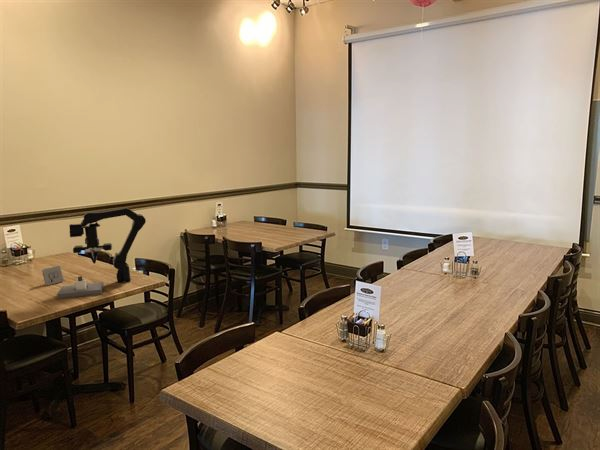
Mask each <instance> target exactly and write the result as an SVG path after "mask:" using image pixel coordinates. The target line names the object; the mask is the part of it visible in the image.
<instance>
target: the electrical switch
mask: <svg viewBox="0 0 600 450" xmlns="http://www.w3.org/2000/svg"><path fill="white" fill-rule="evenodd" d="M41 271H42V277H43V280H44V284H45V286H50V285H55V284H59V283H63V282H64V281H65V280H64V276H63V271H62V268H61V266H60V265H55V266H50V267H47V268H42V270H41Z"/></svg>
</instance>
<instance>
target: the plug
mask: <svg viewBox="0 0 600 450" xmlns="http://www.w3.org/2000/svg"><path fill="white" fill-rule="evenodd" d="M86 284H87V279H86V278H83V276H82V275H81V276H80V275H79V276H77V279H76V280H75V281H74V285H75V287H76V290H82V289H87V287H86Z"/></svg>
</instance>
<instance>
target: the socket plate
mask: <svg viewBox="0 0 600 450" xmlns="http://www.w3.org/2000/svg"><path fill="white" fill-rule="evenodd" d="M104 286H105V285H104V282H103V281H102V282H93V283H91V282H90V283H86V287H87V289H82V290H76V287H75V284H72V285H63V286H61V287H60V289H59V291H58V292H57V294H56V296H57V300H58V299H59V300H60V299H71V298H81V297H87V296H97V295H101V294H102V292H103V290H104V288H105V287H104Z"/></svg>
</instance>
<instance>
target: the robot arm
mask: <svg viewBox="0 0 600 450" xmlns="http://www.w3.org/2000/svg"><path fill="white" fill-rule="evenodd" d="M122 216H126V217H128V218H129V219H130V220H132V223H131V228H130V230H129V233H128V234H127V236H126V239H125V241H124V243H123V245H122V247H121V249H120V251H119V252H115V253H114V257H113V258H112V264H113V267H114V268H115V269H116V270H117V271H116V272H117V273H116V281H117V283H118V284H120V283H129V282H131V279H132V277H131V270H130V265H129V264H128V263H127V258H128V253H129V252H130V250H131V248H132V245H133V243H134V241H135V239H136V237H137V235H138V233H139V231H140V230H142V228H143V227H144V225H145V224H146V222H147V221H146V218H145V216H144V215H143V214H140V213H136V212H135V211H133V210H131V209H130V208H129V207H126V206H125V207H121V208H116V209H110V210H104V211H87V212H85V213H84V215H83V219H82V220H81V222H80V223H77V224H76V223H73V224H71V223H70V224H69V238H77V237H83V235H84V234H85V238H84V244H85V245H86V246H83V245H75V246H73V248H72V252H73V254H79V253H81V252H82V251H84V252H85V254H86V255H87V256H89V258H90V259H91V261H92V264H94V265H95V264H96V263H97V258H98V255H99V254H100V253H101V251H102V250H103V251H111V250H112V249H113V244H112V243H110V242H107V243H103V244H102V245H100V239H99V238H98V227H101V224H100V223H98V222H100V221H102V220H107V219H110V218H111V219H112V218H117V217H122Z"/></svg>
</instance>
